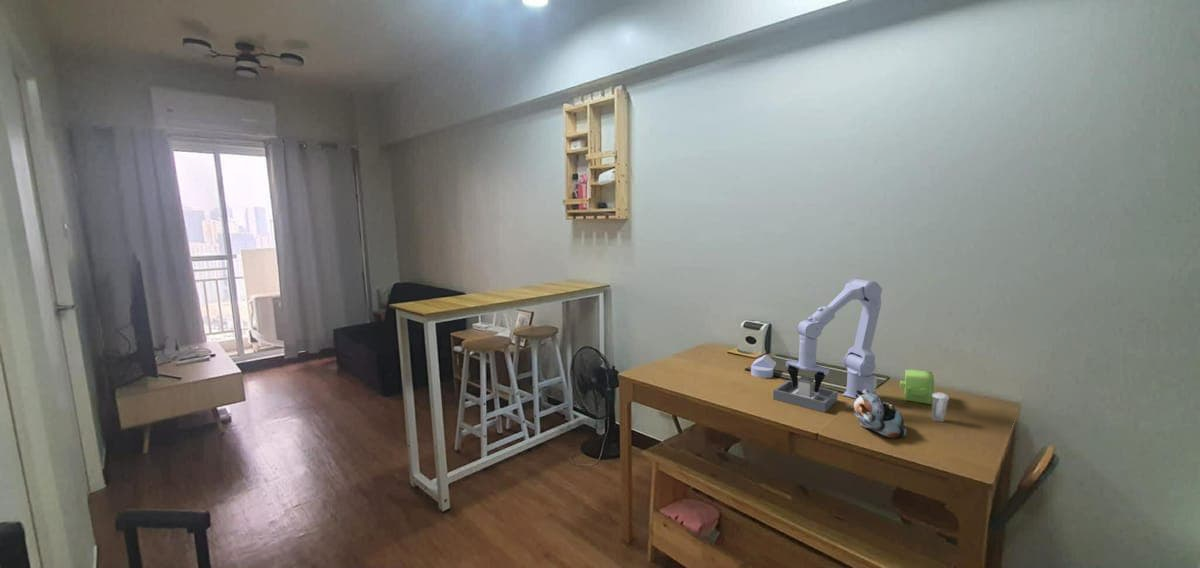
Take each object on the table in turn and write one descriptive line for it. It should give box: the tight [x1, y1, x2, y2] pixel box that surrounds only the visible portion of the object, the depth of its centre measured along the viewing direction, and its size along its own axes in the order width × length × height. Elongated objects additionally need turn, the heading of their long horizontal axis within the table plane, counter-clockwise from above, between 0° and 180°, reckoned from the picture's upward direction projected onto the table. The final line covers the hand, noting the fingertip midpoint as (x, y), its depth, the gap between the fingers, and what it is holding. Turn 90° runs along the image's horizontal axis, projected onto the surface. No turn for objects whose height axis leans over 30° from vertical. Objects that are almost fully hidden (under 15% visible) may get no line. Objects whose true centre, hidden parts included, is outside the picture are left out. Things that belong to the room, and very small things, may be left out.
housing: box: [772, 379, 839, 414], centre depth 168 cm, size 18×14×4 cm
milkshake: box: [930, 391, 950, 423], centre depth 151 cm, size 4×5×10 cm
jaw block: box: [797, 376, 815, 398], centre depth 168 cm, size 4×4×7 cm
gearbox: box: [899, 369, 935, 405], centre depth 170 cm, size 18×10×10 cm, turn 148°
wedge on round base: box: [750, 354, 777, 379], centre depth 197 cm, size 9×7×13 cm
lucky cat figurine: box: [853, 390, 907, 440], centre depth 144 cm, size 15×12×14 cm
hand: (805, 389), depth 168 cm, fingers open, 7 cm apart
